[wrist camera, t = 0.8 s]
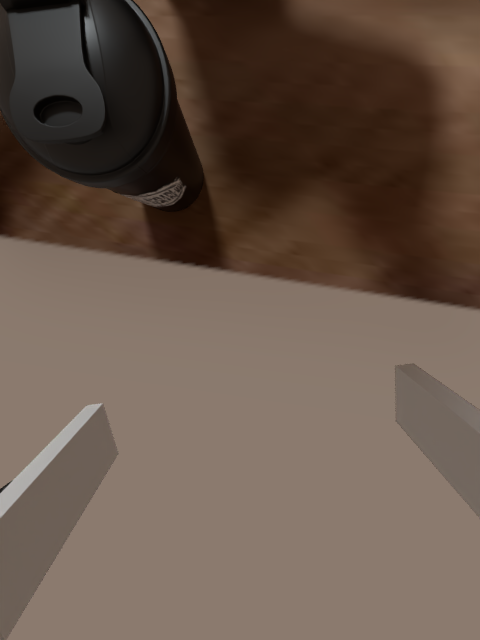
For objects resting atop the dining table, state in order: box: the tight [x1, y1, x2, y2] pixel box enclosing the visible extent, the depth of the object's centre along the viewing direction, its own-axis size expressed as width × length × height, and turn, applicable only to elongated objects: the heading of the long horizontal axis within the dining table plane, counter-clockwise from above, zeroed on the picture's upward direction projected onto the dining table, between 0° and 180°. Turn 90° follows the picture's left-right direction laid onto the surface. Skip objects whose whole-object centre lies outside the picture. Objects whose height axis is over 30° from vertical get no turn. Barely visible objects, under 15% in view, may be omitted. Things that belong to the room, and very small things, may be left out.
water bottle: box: [0, 0, 203, 212], centre depth 24 cm, size 10×10×23 cm
